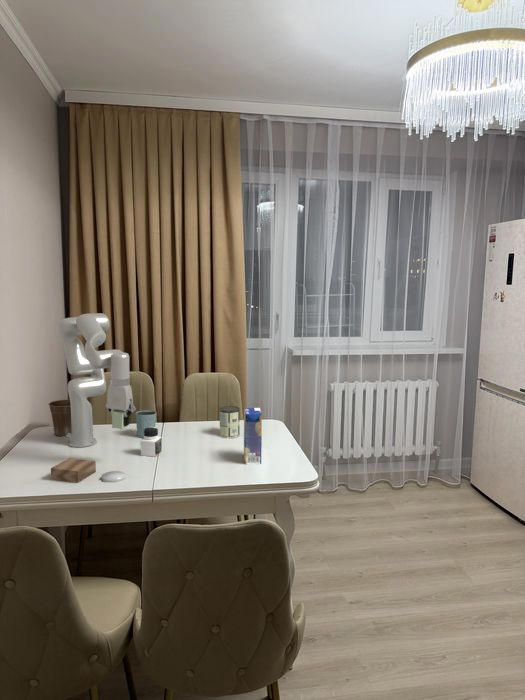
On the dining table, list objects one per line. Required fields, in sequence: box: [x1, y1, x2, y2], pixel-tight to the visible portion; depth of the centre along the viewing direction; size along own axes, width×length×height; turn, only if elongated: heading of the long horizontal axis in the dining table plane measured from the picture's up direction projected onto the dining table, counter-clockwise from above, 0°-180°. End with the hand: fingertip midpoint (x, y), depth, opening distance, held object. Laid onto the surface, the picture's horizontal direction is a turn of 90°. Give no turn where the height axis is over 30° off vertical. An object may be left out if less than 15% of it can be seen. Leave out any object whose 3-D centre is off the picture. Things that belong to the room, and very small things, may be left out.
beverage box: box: [243, 407, 263, 465], centre depth 223 cm, size 7×11×22 cm, turn 6°
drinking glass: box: [135, 409, 157, 439], centre depth 257 cm, size 10×10×12 cm
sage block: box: [111, 410, 130, 430], centre depth 215 cm, size 5×5×7 cm
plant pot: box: [48, 398, 72, 437], centre depth 259 cm, size 16×16×16 cm
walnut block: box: [50, 457, 97, 484], centre depth 204 cm, size 12×12×5 cm
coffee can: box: [219, 405, 241, 439], centre depth 259 cm, size 10×10×14 cm
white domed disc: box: [101, 470, 127, 483], centre depth 203 cm, size 9×9×2 cm
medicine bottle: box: [140, 426, 163, 458], centre depth 230 cm, size 7×7×12 cm
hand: (120, 424), depth 216 cm, fingers closed on sage block, 5 cm apart
